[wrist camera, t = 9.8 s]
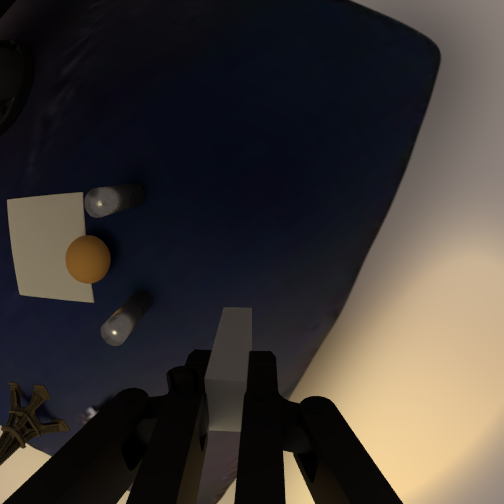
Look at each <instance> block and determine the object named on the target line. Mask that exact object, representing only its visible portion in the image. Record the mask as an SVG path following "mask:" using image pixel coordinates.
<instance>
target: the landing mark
mask: <svg viewBox="0 0 504 504" xmlns="http://www.w3.org/2000/svg"><path fill="white" fill-rule="evenodd" d="M7 206H8V219H9V229H10V238H11V246H12V253H13V260H14V266H15V272H16V277H17V283H18V288H19V293H20V295H26V296H34V297H43V298H52V299H61V300H71V301H82V302H93V303H94V296H93V289H92V283H90V284H86V283H81V282H79V281H77V280H75V279H74V278H73V277H72V276H71V275H70V273H69V272H68V270H67V267H66V262H65V257H66V252H67V249H68V247H69V245H70V244H71V243H72V242H73V241H74V240H75V239H77V238H78V237H81V236H85V235H86V230H85V217H84V199H83V192H78V193H66V194H55V195H44V196H35V197H26V198H17V199H9V200H7Z"/></svg>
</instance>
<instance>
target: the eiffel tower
mask: <svg viewBox="0 0 504 504" xmlns="http://www.w3.org/2000/svg"><path fill="white" fill-rule="evenodd" d="M9 384H10V387H11V389H10V399H11V410H9V413H10V416H9V420H8V422H7V424H6V426H2V428H1V430H2V431H3V433H2V435H1V437H0V465H1V464H2V463H3V462H4V461H6V460H7V459H8V458H9V457H10V456H11V455H12V454H13V453H14V452H15V451H16V450H17V449H18V448H19V447H21V448H25V447H26V446H25V443H26V442H28V441H29V440H31V439H32V438H34V437H36V436H39V437H41V434H44V433H53V432H60V431H63V430H64V431H70V429H69V428H68V426H67V425H66V423H65V421H64V420H61V419H54V418H53V420H52V421H53V422H50V423H44V424H43V423H40V421H39V420H38V418H37V416H35V410H36V409H37V408H38V407H39V406H40V405H41V404H42V403H43V402H44V401H45V400H48V399H51V397H50V395H49V394H48V392H47V390H46V388H45V386H44V385H34V391H33V394H32V398H31V401H30V405H29V406H28V407H21V396H23V395H24V394H23V392H22V391H21V389H20V387H19V385H18V383H13V382H9ZM15 421H16V424H15V425H14V423H15ZM13 425H14V426H13ZM25 433H27V434H25ZM24 434H25V435H24ZM23 435H24V436H23Z"/></svg>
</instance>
